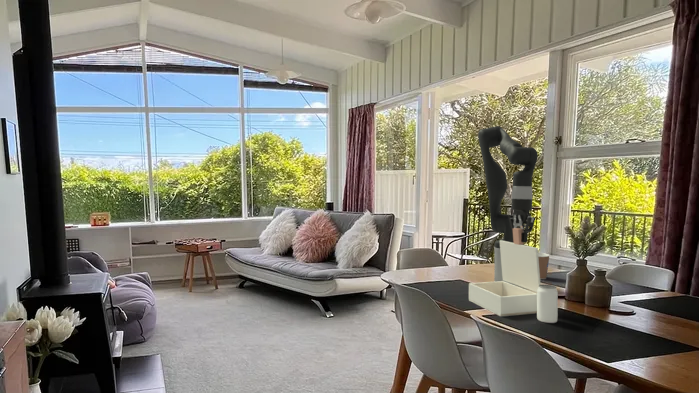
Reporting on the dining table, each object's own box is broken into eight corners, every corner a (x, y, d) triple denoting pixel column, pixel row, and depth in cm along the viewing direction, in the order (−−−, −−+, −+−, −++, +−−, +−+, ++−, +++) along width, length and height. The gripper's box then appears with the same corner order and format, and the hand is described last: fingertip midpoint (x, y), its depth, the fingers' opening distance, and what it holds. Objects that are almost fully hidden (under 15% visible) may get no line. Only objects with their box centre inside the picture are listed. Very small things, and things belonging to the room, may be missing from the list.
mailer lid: (502, 280, 176) (506, 279, 176) (539, 293, 154) (543, 292, 154) (498, 226, 175) (502, 225, 175) (534, 232, 153) (539, 231, 153)
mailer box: (502, 297, 176) (502, 281, 175) (538, 313, 154) (538, 294, 154) (468, 300, 172) (468, 283, 172) (500, 316, 150) (500, 297, 150)
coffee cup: (553, 280, 207) (553, 256, 207) (532, 280, 208) (532, 256, 207) (544, 275, 218) (544, 252, 217) (524, 275, 218) (524, 252, 218)
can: (556, 318, 148) (556, 284, 148) (558, 324, 142) (558, 289, 141) (536, 316, 150) (536, 283, 150) (537, 322, 144) (538, 287, 144)
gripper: (542, 198, 158) (541, 243, 159) (518, 197, 172) (517, 239, 172) (525, 198, 156) (524, 244, 157) (502, 197, 170) (501, 239, 170)
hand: (520, 241), depth 164 cm, fingers closed on mailer lid, 3 cm apart
